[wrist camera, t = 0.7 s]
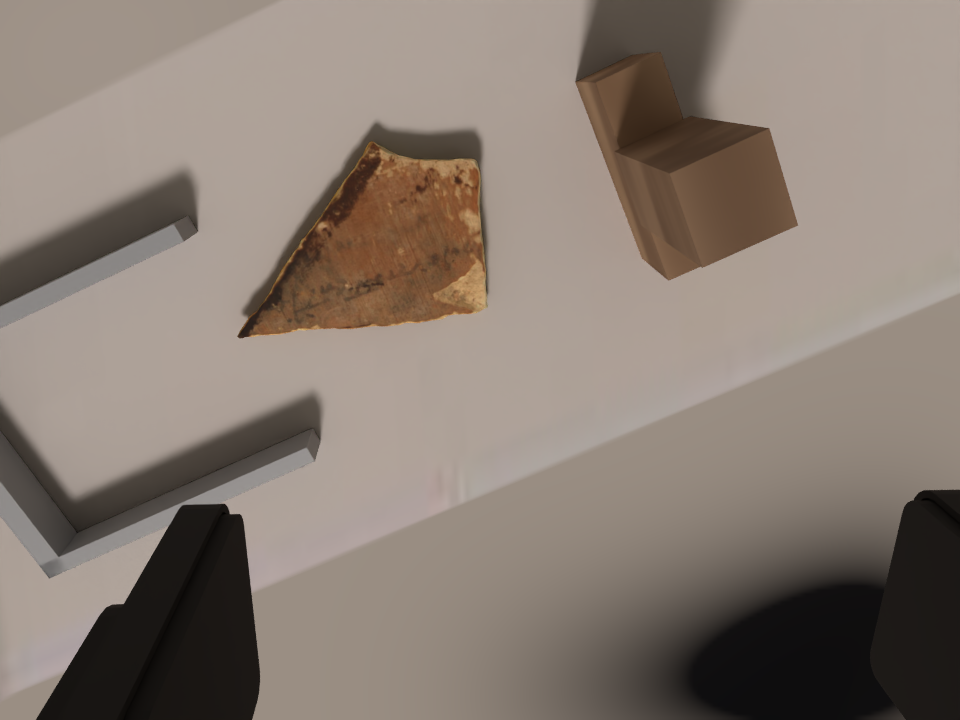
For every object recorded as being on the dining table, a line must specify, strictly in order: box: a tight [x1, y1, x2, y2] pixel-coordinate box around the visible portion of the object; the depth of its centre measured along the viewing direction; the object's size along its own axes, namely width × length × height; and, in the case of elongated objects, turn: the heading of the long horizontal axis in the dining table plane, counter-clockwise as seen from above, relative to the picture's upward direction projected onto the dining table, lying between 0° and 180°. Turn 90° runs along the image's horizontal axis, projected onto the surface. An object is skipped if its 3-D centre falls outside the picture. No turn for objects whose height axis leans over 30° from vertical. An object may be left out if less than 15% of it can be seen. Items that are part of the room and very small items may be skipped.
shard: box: [237, 141, 488, 338], centre depth 33 cm, size 11×8×2 cm
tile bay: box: [0, 216, 320, 578], centre depth 34 cm, size 14×12×2 cm
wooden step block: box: [576, 52, 798, 281], centre depth 28 cm, size 3×8×11 cm, turn 24°
